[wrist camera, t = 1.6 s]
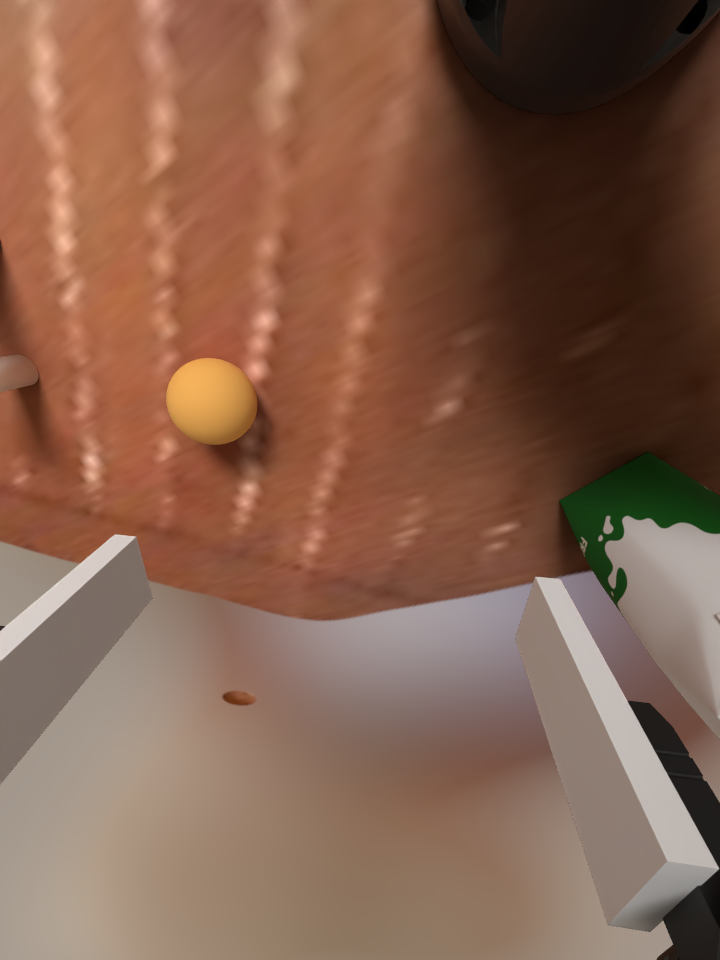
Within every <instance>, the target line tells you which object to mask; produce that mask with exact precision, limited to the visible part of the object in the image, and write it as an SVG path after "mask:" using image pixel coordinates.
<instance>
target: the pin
mask: <svg viewBox="0 0 720 960" xmlns="http://www.w3.org/2000/svg"><path fill="white" fill-rule="evenodd" d="M38 376H39V375H38V371H37V368H36V366H35V365H34V363H33V362H32V361H31V360H30V359H28V358H27V357H25V356H23V355H19V354H16V355H10V356H3V357H0V393H1V392H5V391H9V390H13V389H17V388H21V387H25V386H29V385H33V384H35V383H36V382H37V381H38Z"/></svg>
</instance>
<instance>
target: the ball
mask: <svg viewBox="0 0 720 960" xmlns="http://www.w3.org/2000/svg"><path fill="white" fill-rule="evenodd" d="M166 402H167V408H168V411H169V414H170V416H171V419H172V420H173V422H174V423H175V425H176V426H177V427H178V428H179V429H180V430H181V431H182V432H183V433H184V434H185V435H187V436H188V437H190V438H191V439H193V440H195V441H198V442H201V443H205V444H211V445H218V444H226V443H229V442H232V441H234V440H236V439H238V438H240V437H241V436H242V435H244V434H245V433H246V432H247V431H248V430H249V428H250V427H251V425H252V424H253V422H254V419H255V417H256V413H257V396H256V392H255V389H254V387H253V385H252V383H251V381H250V380H249V378H248V377H247V376H246V374H245V373H244V372H243V371H241V370H240V369H239V368H238V367H236V366H235V365H233V364H231V363H229V362H227V361H224V360H221V359H215V358H202V359H197V360H193V361H191V362H189V363H187V364H185V365H184V366H182V367H181V368H180V369H179V370H178V371H177V372H176V373H175V374H174V375H173V377H172V379H171V381H170V382H169V385H168V389H167V395H166Z"/></svg>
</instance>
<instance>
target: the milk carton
mask: <svg viewBox="0 0 720 960" xmlns="http://www.w3.org/2000/svg"><path fill="white" fill-rule="evenodd" d="M560 503H561V506H562V508H563V510H564V512H565V515H566V517H567V519H568V521H569V523H570V526H571V528H572V530H573V532H574V535H575V537H576V539H577V541H578V543H579V546H580V548H581V550H582V552H583V554H584V556H585V558H586V560H587V562H588V564H589V565H590V567H591V569H592V570H593V572H594V574H595V575H596V577H597V579H598V580H599V582H600V583H601V585H602V586H603V588H604V589H605V591H606V592H607V594H608V595H609V597H610V598H611V599H612V601H613V602H614V604H615V605H616V607H617V608H618V609H619V611H620V612H621V613H622V615H623V617H624V618H625V619H626V621H627V622H628V624H629V625H630V627H631V628H632V629H633V631H634V632H635V634H636V635H637V637H638V638H639V639H640V641H641V642H642V644H643V645H644V646H645V648H646V649H647V651H648V652H649V654H650V655H651V656H652V658H653V659H654V661H655V662H656V663H657V665H658V666H659V667H660V668H661V670H662V671H663V672H664V673H665V674H666V676H667V677H668V678H669V679H670V681H671V682H672V683H673V685H674V686H675V687H676V689H677V690H678V691H679V693H680V694H681V695H682V696H683V697H684V699H685V700H686V701H687V702H688V704H689V705H690V706H691V707H692V708H693V709H694V710H695V712H696V713H697V714H698V715H699V716H700V717H701V718H702V720H703V721H704V722H705V723H706V724H707V725H708V726H709V728H710V729H711V730H712V731H713V732H714V733H715V734H716V735H717V737H718V738H719V739H720V496H719V495H718V494H716V493H715V492H713V491H711V490H710V489H708V488H707V487H705V486H703V485H702V484H700V483H698V482H697V481H695V480H693V479H692V478H690V477H688V476H687V475H685V474H684V473H682V472H680V471H679V470H677V469H675V468H674V467H672V466H670V465H669V464H667V463H665V462H664V461H662V460H661V459H659V458H657V457H656V456H654V455H652V454H651V453H649V452H647V453H645V454H643V455H641V456H639V457H638V458H636V459H634V460H632V461H630V462H628V463H627V464H625V465H623V466H621V467H619V468H618V469H616V470H614V471H612V472H610V473H609V474H607V475H605V476H603V477H601V478H599V479H598V480H596V481H594V482H592V483H590V484H589V485H587V486H585V487H583V488H581V489H579V490H578V491H576V492H574V493H572V494H570V495H569V496H567V497H565V498H563V499H561V500H560Z"/></svg>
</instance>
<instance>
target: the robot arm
mask: <svg viewBox="0 0 720 960" xmlns="http://www.w3.org/2000/svg"><path fill="white" fill-rule="evenodd" d="M437 2H438V6H439V10H440V13H441V16H442V19H443V22H444V25H445V28H446V30H447V33H448V35H449V37H450V40H451V42H452V44H453V46H454V48H455V50H456V51H457V53H458V55H459V57H460V58H461V60H462V61H463V63H464V64H465V66H466V67H467V69H468V70H469V71H470V72H471V74H472V75H473V76H474V77H475V78H476V79H477V80H478V82H479V83H480V84H481V85H482V86H484V87H485V88H486V89H487V90H488V91H489V92H491V93H492V94H493V95H495V96H496V97H498V98H499V99H501V100H503V101H504V102H506V103H508V104H510V105H513V106H515V107H517V108H520V109H523V110H526V111H531V112H535V113H543V114H565V113H572V112H578V111H582V110H586V109H590V108H593V107H596V106H599V105H601V104H604V103H606V102H608V101H611V100H613V99H615V98H617V97H619V96H621V95H622V94H624V93H626V92H628V91H629V90H631V89H632V88H634V87H636V86H637V85H639V84H640V83H641V82H643V81H644V80H646V79H647V78H648V77H650V76H651V75H652V74H653V73H655V72H656V71H657V70H658V69H660V68H661V67H662V66H663V65H664V64H665V63H666V62H667V61H669V60H670V59H671V58H672V57H673V56H674V55H675V54H677V53H678V52H679V51H680V50H681V49H682V48H683V47H685V46H686V45H687V44H688V43H689V42H690V41H691V40H692V39H693V38H695V37H696V36H697V35H698V34H699V33H700V32H701V31H702V30H703V29H704V28H705V27H706V26H707V24H708V23H709V22H710V21H711V20H712V19H713V18H714V17H715V16H716V15H717V13H718V12H719V11H720V0H437ZM151 600H152V593H151V590H150V586H149V582H148V578H147V575H146V571H145V567H144V564H143V560H142V556H141V552H140V549H139V545H138V541H137V538H136V537H134V536H124V535H114V536H112V537H111V538H110V539H109V540H108V541H107V542H105V543H104V544H103V545H102V546H101V547H99V548H98V549H97V550H96V551H95V552H93V553H92V554H91V555H90V556H89V557H88V558H86V559H85V560H84V561H83V562H82V563H80V564H79V565H78V566H77V567H76V568H74V569H73V570H72V571H71V572H70V573H69V574H68V575H66V576H65V577H64V578H63V579H61V580H60V581H59V582H58V583H57V584H55V585H54V586H53V587H52V588H51V589H50V590H48V591H47V592H46V593H45V594H44V595H42V596H41V597H40V598H39V599H38V600H36V601H35V602H34V603H33V604H32V605H30V606H29V607H28V608H27V609H26V610H25V611H23V612H22V613H21V614H20V615H19V616H18V617H16V618H15V619H14V620H13V621H11V622H10V623H9V624H8V625H7V626H6V627H5V626H0V784H1V783H2V782H3V780H4V779H5V778H6V777H7V776H8V775H9V773H10V772H11V771H12V770H13V768H14V767H15V766H16V765H17V763H18V762H19V761H20V760H21V759H22V757H23V756H24V755H25V754H26V752H27V751H28V750H29V749H30V747H31V746H32V745H33V744H34V743H35V742H36V740H37V739H38V738H39V737H40V735H41V734H42V733H43V731H45V729H46V728H47V727H48V725H49V724H50V723H51V722H52V721H53V720H54V718H55V717H56V716H57V715H58V713H59V712H60V711H61V710H62V709H63V707H64V706H65V705H66V703H67V702H68V701H69V700H70V699H71V698H72V696H73V695H74V694H75V693H76V691H77V690H78V689H79V688H80V686H81V685H82V684H83V683H84V682H85V680H86V679H87V678H88V677H89V676H90V674H91V673H92V672H93V671H94V669H95V668H96V667H97V666H98V665H99V663H100V662H101V661H102V659H103V658H104V657H105V656H106V655H107V653H108V652H109V651H110V650H111V649H112V647H113V646H114V645H115V644H116V642H117V641H118V640H119V639H120V637H121V636H122V635H123V634H124V633H125V631H126V630H127V629H128V628H129V627H130V625H131V624H132V622H134V620H135V619H136V618H137V617H138V616H139V614H140V613H141V612H142V611H143V609H144V608H145V607H146V606H147V604H148V603H149V602H150V601H151ZM515 640H516V643H517V646H518V649H519V652H520V655H521V658H522V661H523V664H524V668H525V671H526V674H527V677H528V680H529V683H530V686H531V689H532V692H533V695H534V698H535V702H536V705H537V708H538V711H539V714H540V717H541V720H542V723H543V726H544V729H545V733H546V735H547V739H548V742H549V745H550V748H551V751H552V754H553V757H554V760H555V763H556V767H557V769H558V773H559V776H560V779H561V782H562V785H563V788H564V791H565V794H566V797H567V801H568V804H569V807H570V810H571V813H572V816H573V819H574V822H575V825H576V828H577V831H578V835H579V838H580V841H581V844H582V847H583V850H584V853H585V856H586V859H587V862H588V865H589V869H590V872H591V875H592V878H593V881H594V884H595V887H596V890H597V893H598V896H599V899H600V903H601V906H602V909H603V911H604V915H605V918H606V921H607V924H608V925H610V926H616V927H623V928H629V929H635V930H641V931H648V932H651V931H652V930H653V929H654V928H655V927H656V926H657V925H658V924H659V923H660V922H662V921H664V923H665V925H666V928H667V930H668V933H669V935H670V938H671V940H672V942H673V945H672V946H671V947H670V948H669V949H667V950H666V951H665V952H664V953H662V954H661V955H660V956H659V957H658V958H657V960H720V803H719V801H718V800H717V798H716V796H715V794H714V793H713V791H712V790H711V788H710V786H709V785H708V783H707V782H706V781H704V780H703V777H702V776H703V775H702V774H701V772H700V770H699V769H698V767H697V765H696V764H695V762H694V761H693V759H692V758H690V757H689V752H688V751H687V749H686V748H685V746H684V744H683V743H682V741H681V740H680V738H679V736H678V735H677V733H676V732H675V730H674V728H673V727H672V726H671V725H670V724H669V723H668V722H667V721H666V720H665V719H664V717H663V716H662V715H661V714H660V713H659V712H658V711H657V710H656V709H655V708H654V707H653V706H652V705H651V704H650V703H643V702H634V701H627V700H626V698H625V696H624V694H623V692H622V691H621V689H620V687H619V685H618V683H617V681H616V680H615V678H614V676H613V674H612V672H611V670H610V669H609V667H608V665H607V663H606V661H605V660H604V658H603V656H602V654H601V652H600V650H599V649H598V647H597V645H596V643H595V641H594V639H593V638H592V636H591V634H590V632H589V630H588V629H587V627H586V625H585V623H584V621H583V619H582V618H581V616H580V614H579V612H578V610H577V609H576V607H575V605H574V603H573V601H572V600H571V597H570V596H569V594H568V592H567V590H566V588H565V587H564V585H563V583H562V581H561V579H554V578H544V577H535V579H534V582H533V585H532V589H531V591H530V594H529V598H528V601H527V604H526V607H525V610H524V613H523V616H522V619H521V622H520V625H519V628H518V631H517V635H516V638H515Z"/></svg>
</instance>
